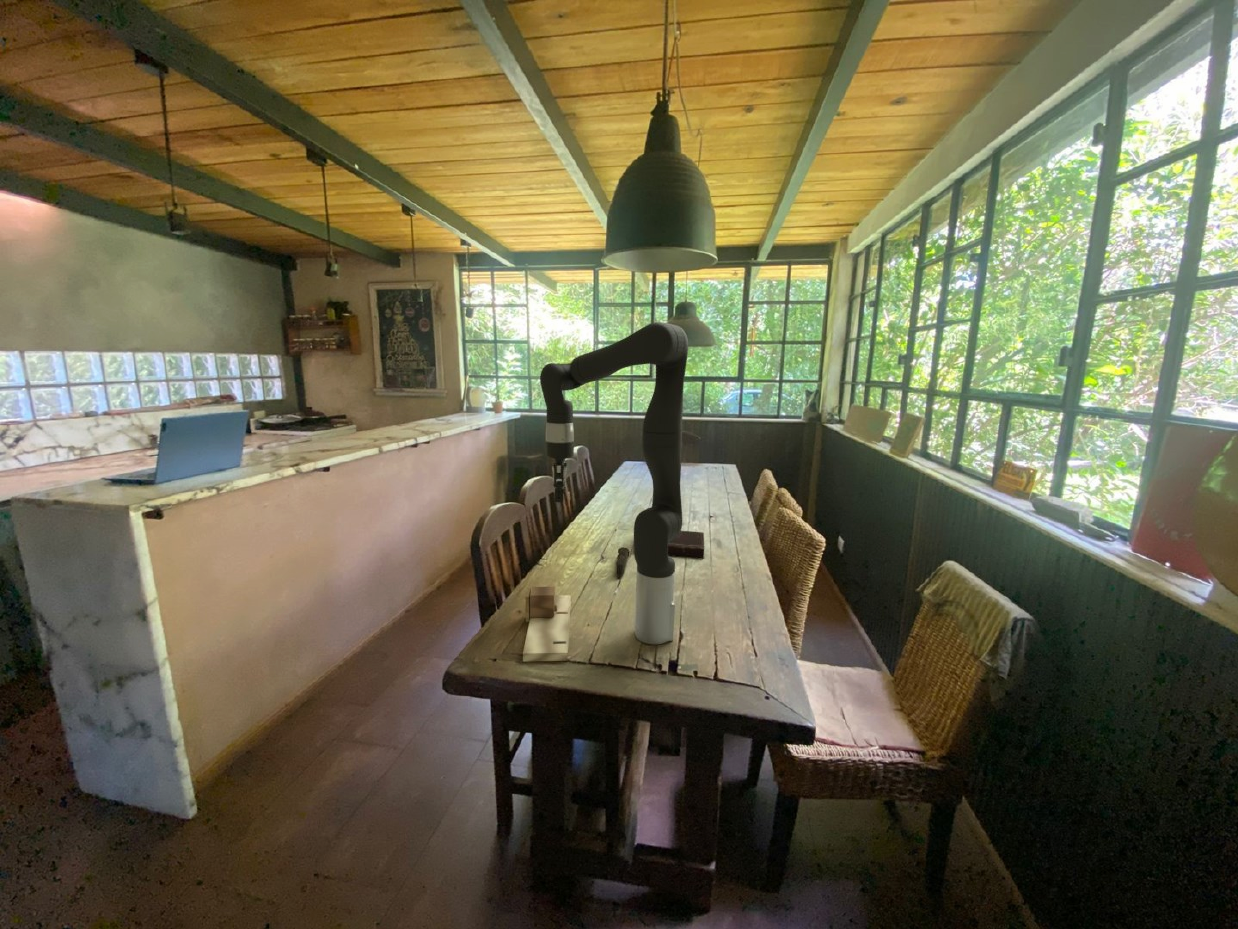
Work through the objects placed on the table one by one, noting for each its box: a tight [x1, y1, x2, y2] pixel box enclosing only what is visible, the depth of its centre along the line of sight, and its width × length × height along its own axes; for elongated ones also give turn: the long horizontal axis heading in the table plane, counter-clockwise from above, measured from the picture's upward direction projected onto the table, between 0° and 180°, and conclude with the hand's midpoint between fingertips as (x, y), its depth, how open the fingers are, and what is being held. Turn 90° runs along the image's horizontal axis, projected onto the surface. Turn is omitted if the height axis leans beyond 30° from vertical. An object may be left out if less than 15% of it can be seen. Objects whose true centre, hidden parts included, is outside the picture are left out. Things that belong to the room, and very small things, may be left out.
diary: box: [668, 530, 705, 560], centre depth 179 cm, size 19×25×5 cm
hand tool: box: [616, 546, 630, 580], centre depth 160 cm, size 19×4×5 cm, turn 173°
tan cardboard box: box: [525, 586, 557, 623], centre depth 124 cm, size 8×5×7 cm, turn 94°
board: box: [522, 594, 572, 663], centre depth 121 cm, size 10×28×2 cm, turn 4°
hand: (559, 497), depth 131 cm, fingers open, 8 cm apart
